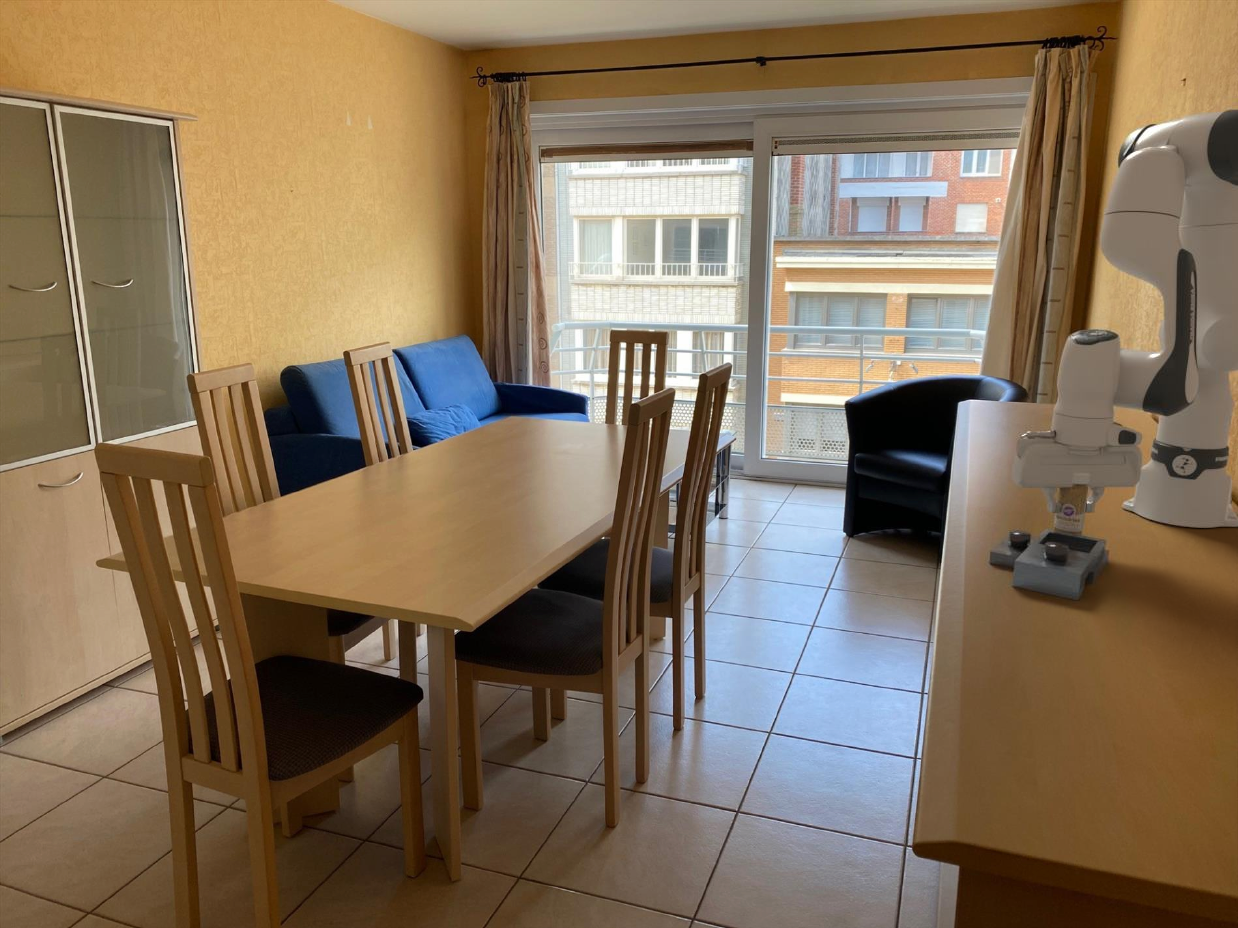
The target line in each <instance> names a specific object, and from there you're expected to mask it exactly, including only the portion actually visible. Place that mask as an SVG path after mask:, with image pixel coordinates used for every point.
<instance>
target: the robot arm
mask: <svg viewBox="0 0 1238 928" xmlns="http://www.w3.org/2000/svg"><path fill="white" fill-rule="evenodd" d="M1117 168H1118V170H1117V173H1116V175H1115V178H1114V180H1113V183H1112V185H1111V188H1110V191H1109V194H1108V198H1107V201H1106V205H1105V209H1104V214H1103V219H1102V224H1101V230H1100V239H1099V243H1100V245H1099V246H1100V250H1101V252H1102V255H1103V256H1104V258H1105V259H1106V260H1107V261H1108V263H1109V264H1111V266H1113V267H1114V268H1116V269H1118V271H1121V272H1122V273H1125V274H1127V275H1129V276H1131V277H1135V278H1137V279H1139V280H1141V281H1144V282H1146V283H1148V284H1150V285H1152V286H1153V287H1155V288H1156V289H1157V290H1158V291H1159V292H1160V294H1161V297H1162V301H1163V319H1162V321H1161V322H1160V324H1159V327H1158V328H1159V329H1158V339H1159V343H1160V350H1158V351H1150V350H1139V349H1129V348H1128V349H1127V348H1123V347H1122V348H1121V338H1120V335H1119V334H1118V333H1117V332H1114V331H1111V330H1107V329H1096V328H1094V329H1082V330H1078V331H1076V332H1073V333H1071V334H1069V336H1068V337H1067V338H1066V340H1065V344H1064V347H1063V350H1062V354H1061V358H1060V362H1059V367H1058V373H1057V380H1056V390H1057V401H1056V403H1055V404H1054V408H1053V410H1052V411H1053V413H1052V419H1051V420H1052V421H1051V428H1050V430H1046V431H1045V430H1044V431H1034V430H1032V431H1031V430H1030V431H1026V433H1024V434H1022V435H1021V436H1019V438H1018V439H1016V440H1017V441H1016V447H1015V457H1014V460H1013V465H1012V469H1011V474H1010V475H1011V476H1010V477H1011V480H1012V481H1013V483H1014V484H1015V485H1017V486H1019V487H1021V488H1023V489H1037V488H1038V489H1039V488H1040V489H1041V491H1042V493H1043V495H1044V498H1045V499H1046V501H1047V503H1046V504H1047V505H1046V511H1047V512H1048V513H1050V514H1056V513H1060V512H1061V509H1060V508H1061V504H1062V503H1060V502H1058V500H1057V499H1056V498H1055V496H1054V495H1055V494H1058V489H1059V488H1070V487H1072V486H1073V485H1076V484H1072V479H1073V474H1074V473H1089V474H1090V480H1089V483H1088V484H1086V485H1087V487H1088V491H1090V493H1089V494H1088V495H1087V498H1086V500H1087V502H1086V509H1085V514H1087V513H1088V514H1089V513H1090V514H1092V513H1095V509H1096V504H1097V502H1098V501H1100V499H1101V497H1102V496H1103V495H1104V494H1105V489H1106V488H1134V487H1135V491H1134V497H1131V498H1129V499H1128V500H1126V501H1124V502H1122V506H1121V508H1122V509H1124V510H1127V511H1130V512H1134V513H1135V514H1137V515H1139V516H1141V517H1143V518H1146V519H1148V520H1152V521H1154V522H1157V523H1158V522H1159V523H1162V524H1166V525H1172V526H1179V527H1187V528H1188V527H1189V528H1199V529H1200V528H1201V529H1202V528H1204V529H1206V528H1217V527H1218V528H1219V527H1233V528H1234V527H1235V528H1236V527H1238V515H1237V513H1236V512H1235V509H1234V508H1233V506H1232V503H1233V497H1232V491H1233V484H1234V480H1233V479H1232V478H1231V476H1230V475H1229V474H1228V473H1227V471H1226V469H1225V468H1226V467H1227V465H1228V460H1229V457H1230V453H1229V452H1230V447H1229V446H1228V441H1229V435H1230V430H1231V425H1232V424H1231V423H1232V418H1233V413H1234V408H1235V403H1234V398H1233V396H1232V392H1231V385H1230V384H1231V382H1230V372H1234V371H1238V109H1227V110H1225V111H1223V112H1222V111H1219V112H1218V111H1217V112H1206V113H1204V112H1203V113H1197V114H1196V113H1195V114H1190V115H1186V116H1184V117H1181V118H1177V119H1171V120H1169V121H1164V122H1161V123H1152V124H1148V125H1145V126H1143V127H1140V128H1138V129H1136V130H1134V131H1132V132H1130V133H1129V135H1127V137H1126V138H1125V140H1124V142H1123V143H1122V144H1121V146H1120V148H1119V152H1118V157H1117ZM1114 407H1115V408H1121V409H1128V410H1135V411H1136V410H1137V411H1143V412H1145V413H1149V414H1153V415H1159V420H1158V423H1157V424H1158V425H1157V431H1156V437H1155V438H1154V439H1153V441H1152V445H1151V449H1150V450H1151V452H1150V458H1151V459H1150V460H1149V462H1147V463H1146V464H1144V465H1143V453H1142V449H1141V448H1140V447H1139V445H1141V443H1142V441H1143V434H1142V433H1141V432H1140V431H1138V430H1135V429H1133V428H1130V427H1128V426H1124V425H1123V424H1121V423H1119V422H1115V421H1114V418H1115V409H1114ZM1142 465H1143V466H1142Z"/></svg>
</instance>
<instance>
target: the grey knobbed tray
mask: <svg viewBox="0 0 1238 928" xmlns="http://www.w3.org/2000/svg"><path fill="white" fill-rule="evenodd" d="M1037 537H1038V536H1033V535H1032V534H1031V533H1030V532H1028V531H1025V530H1021V529H1020V530H1018V529H1016V530H1015V529H1012V530H1010V531H1009V534H1007V535H1006V536H1005V537H1004V538H1003V539H1001V541H1000V542H999V543H997V545H996V546H995V547H993V548H992V550H990V551H989V552H990V555H989V562H988V563H989V564H992V565H997V566H1000V567H1006V568H1012V569H1014V564H1015V560H1016V559H1017V558H1018V557H1019V556H1020V555H1021V554H1022V553H1023V552H1024V551H1025V550H1026V549H1027V548H1028V547H1029V546H1030V545H1031V544H1032V543H1033V541H1034V540H1035V539H1036V538H1037ZM1069 550H1075V551H1080V552H1085V553H1090V552H1089V551H1084V550H1079V549H1074V548H1069ZM1109 554H1110V550H1108V549H1105V552H1104V553H1103V555H1102V556H1101V558H1100V559H1099V560H1098V562H1097V563H1096V565H1095V566H1094V567H1093V569H1092V570H1091V572H1090V573H1089V574H1088V576H1087V577H1086V579H1085V583H1084V584H1088V585H1094V583H1095V582H1096V580H1097V578H1098V577H1099V576H1100V575H1101V573H1102V571H1103V570H1104V569H1105V567H1106V565H1107V564H1108V561H1109V557H1110V555H1109Z"/></svg>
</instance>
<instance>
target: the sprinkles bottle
mask: <svg viewBox="0 0 1238 928" xmlns="http://www.w3.org/2000/svg"><path fill="white" fill-rule="evenodd" d="M1089 480H1090V474H1089V473H1074V474H1073V479H1072V484H1076V485H1073V486H1072V487H1070V488H1058V495H1057V501H1058V502H1060V503H1062V504H1061V508H1060V509H1061V512H1060V513H1054V514H1055V515H1054V522H1053V530H1055V531H1060V532H1066V533H1072V534H1077V535H1083V529H1084V524H1085V522H1084V521H1085V515H1086V513H1085V509H1086V502H1087V500H1086V499H1087V498H1088V491H1089V487H1087V485H1086V484H1088V483H1089Z"/></svg>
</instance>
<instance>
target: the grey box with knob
mask: <svg viewBox="0 0 1238 928" xmlns="http://www.w3.org/2000/svg"><path fill="white" fill-rule="evenodd" d="M1036 537H1037V538H1036V539H1035V540H1034V541H1033V543H1032V544H1031V545H1030V546H1029V547H1028V548H1027V549H1026V550H1025V551H1024V552H1023V553H1022V554H1021V555H1020V556H1019V557H1018V558H1017V559H1016V560H1015V564H1014V568H1013V573H1012V583H1011V586H1012V587H1015V588H1019V589H1024V590H1028V591H1034V592H1037V593H1043V594H1046V595H1052V596H1056V597H1060V598H1063V599H1064V598H1065V599H1070V600H1074V601H1079V599H1080V598H1081V596H1082V595H1083V593H1084V592H1085V591H1084V590H1085V584H1086V583H1085V579H1086V577H1087V576H1088V574H1089V573H1090V572H1091V570H1092V569H1093V567H1094V566H1095V565H1096V563H1097V562H1098V560H1099V559H1100V558H1101V556H1102V555H1103V553H1104V552H1105V550H1106V545H1107V544H1106V543H1107V539H1104V538H1098V537H1093V536H1088V535H1083V534H1082V535H1077V534H1072V533H1066V532H1060V531H1055V530H1054V529H1048V528H1046V529H1044V530H1043V531H1042V532H1041V533H1040V534H1039V535H1038V536H1036ZM1069 548H1074V549H1079V550H1084V551H1089V552H1090V553H1085V552H1080V551H1075V550H1069Z"/></svg>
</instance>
